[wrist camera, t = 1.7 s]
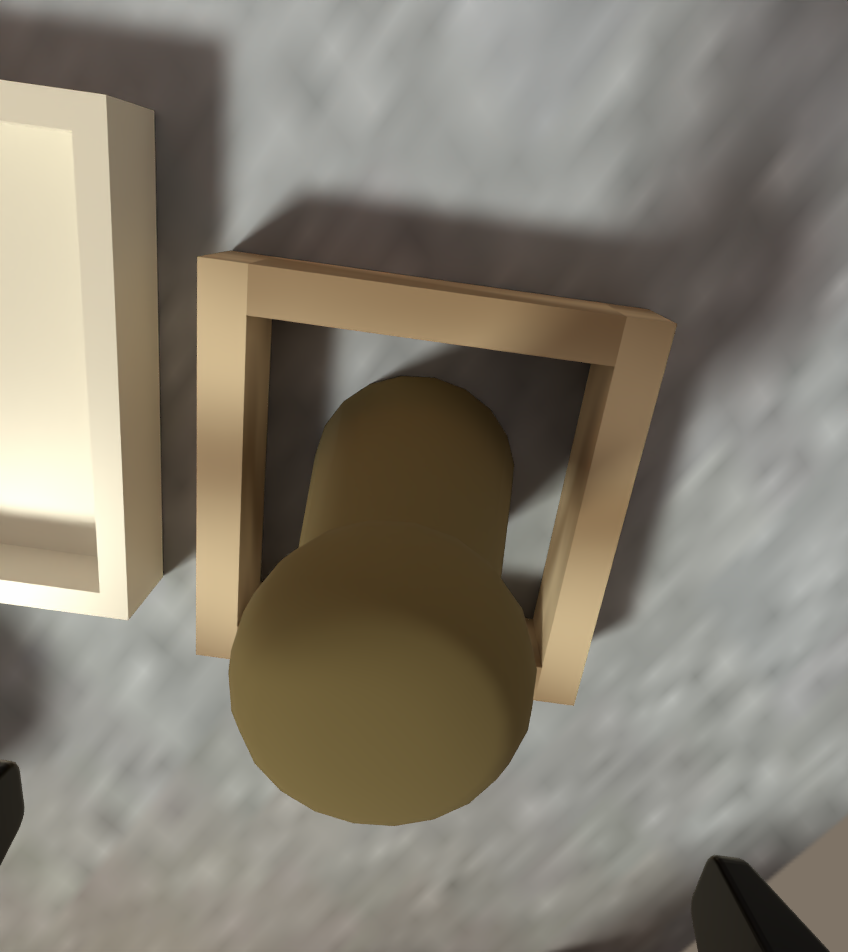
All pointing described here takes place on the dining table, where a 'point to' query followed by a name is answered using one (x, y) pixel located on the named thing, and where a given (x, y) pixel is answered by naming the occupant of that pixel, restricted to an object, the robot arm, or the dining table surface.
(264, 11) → the dining table surface
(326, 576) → the cork
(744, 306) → the dining table surface
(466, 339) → the wooden holder
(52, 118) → the plastic tray
